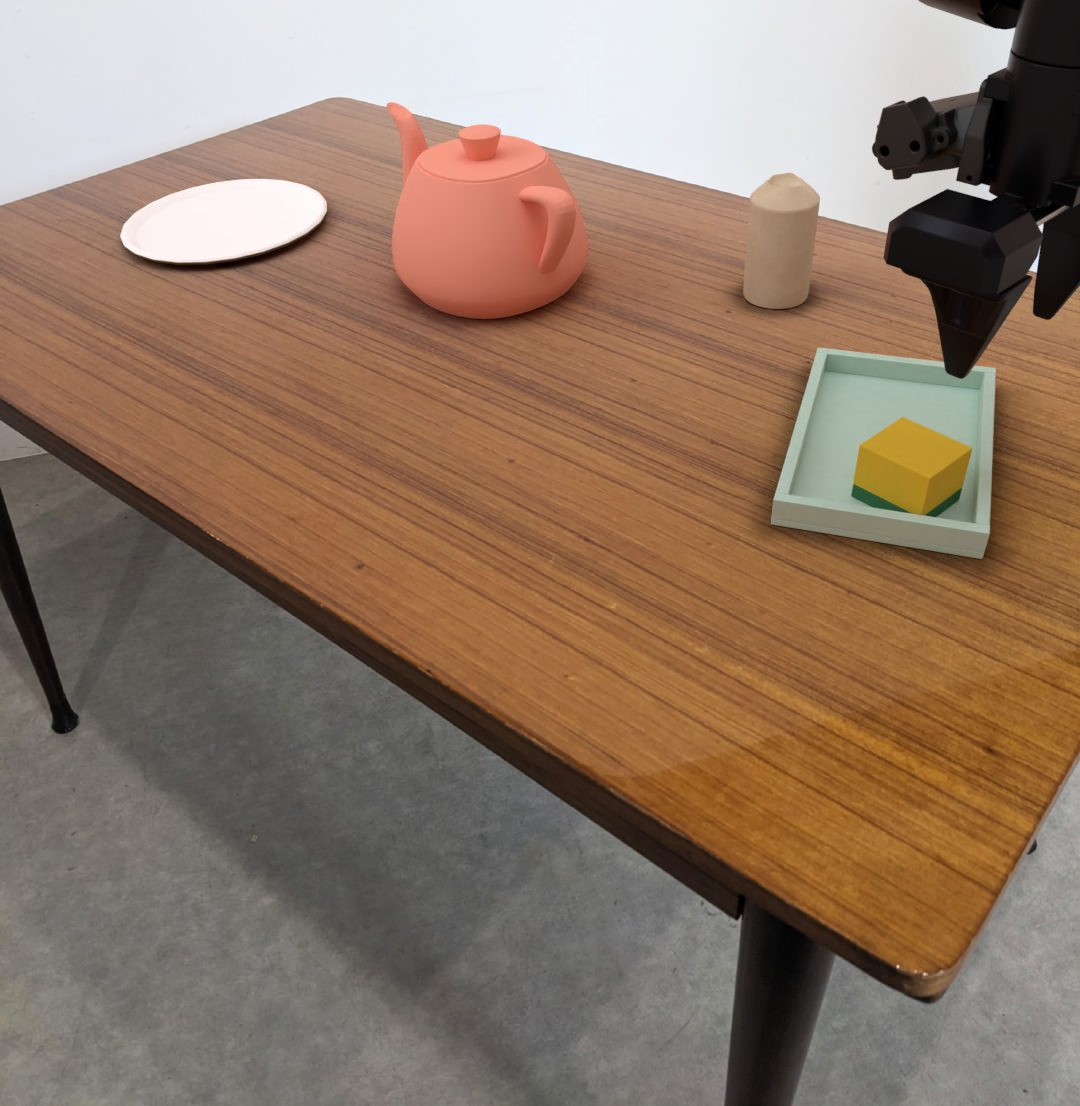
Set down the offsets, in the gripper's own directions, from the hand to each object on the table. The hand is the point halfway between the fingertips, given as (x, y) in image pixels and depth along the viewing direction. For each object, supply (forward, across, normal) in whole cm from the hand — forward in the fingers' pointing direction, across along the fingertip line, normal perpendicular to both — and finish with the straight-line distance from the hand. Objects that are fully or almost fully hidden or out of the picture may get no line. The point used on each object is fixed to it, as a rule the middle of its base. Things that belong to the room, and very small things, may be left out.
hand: (1000, 345), depth 60 cm
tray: (+11, -1, -6) cm, 13 cm away
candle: (+11, -15, -27) cm, 33 cm away
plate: (+11, +11, -77) cm, 79 cm away
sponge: (+11, +3, -2) cm, 11 cm away
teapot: (+11, 0, -48) cm, 49 cm away
